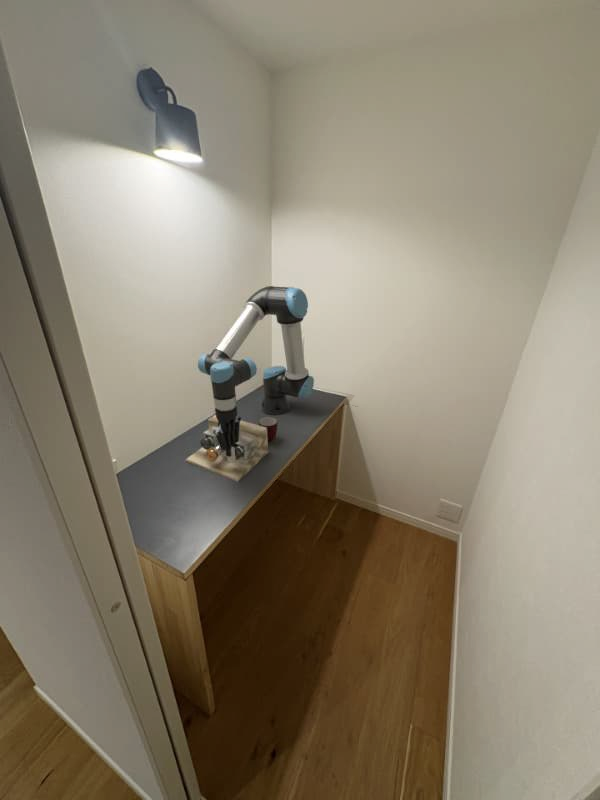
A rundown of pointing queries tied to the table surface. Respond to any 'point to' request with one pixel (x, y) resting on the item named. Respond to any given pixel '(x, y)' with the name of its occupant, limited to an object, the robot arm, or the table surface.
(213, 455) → the knob middle
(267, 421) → the mug
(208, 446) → the knob
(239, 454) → the knob
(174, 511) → the table surface
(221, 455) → the mount
